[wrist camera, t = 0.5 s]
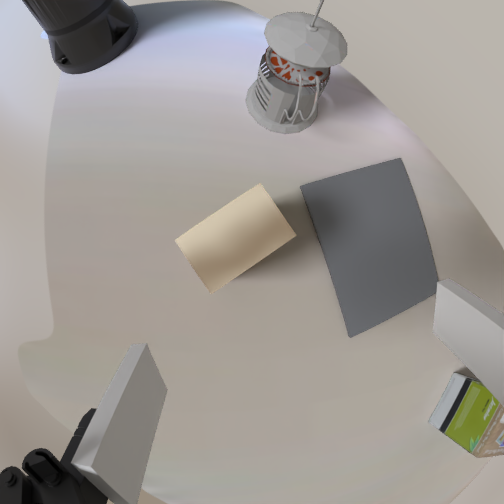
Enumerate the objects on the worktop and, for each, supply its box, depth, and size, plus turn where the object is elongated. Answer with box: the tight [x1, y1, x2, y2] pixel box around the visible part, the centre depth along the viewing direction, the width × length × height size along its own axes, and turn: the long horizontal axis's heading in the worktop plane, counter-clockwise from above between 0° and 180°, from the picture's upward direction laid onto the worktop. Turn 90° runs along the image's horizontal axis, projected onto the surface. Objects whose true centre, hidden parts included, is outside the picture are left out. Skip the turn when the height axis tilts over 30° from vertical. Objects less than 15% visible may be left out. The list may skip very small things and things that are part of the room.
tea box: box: [429, 373, 504, 458], centre depth 30 cm, size 15×10×15 cm
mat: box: [300, 158, 438, 338], centre depth 36 cm, size 20×16×1 cm
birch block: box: [175, 183, 297, 294], centre depth 28 cm, size 5×8×12 cm, turn 124°
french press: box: [246, 0, 347, 134], centre depth 23 cm, size 10×12×25 cm
